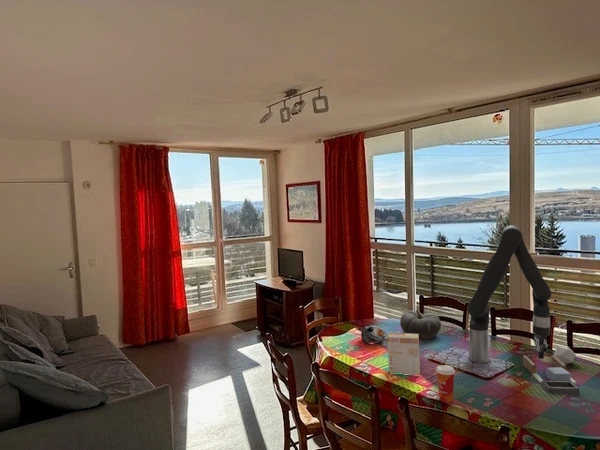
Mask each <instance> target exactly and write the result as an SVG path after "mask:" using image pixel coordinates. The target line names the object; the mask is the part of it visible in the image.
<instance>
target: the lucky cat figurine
mask: <svg viewBox="0 0 600 450" xmlns="http://www.w3.org/2000/svg"><path fill="white" fill-rule="evenodd" d="M363 328H364V329H363V330H362V331H361V332H360V333H361V334H360V336H361V341H362V342H364V343H365V342H366V343H375V344H378V343H380V342H383V341H384V339H386V337H387V336H388V332H386V331H384V330H383V329H382V328H381V327H380V326H378V325H374V324H372V325H369V326H367V325H365V326H364V327H363ZM379 341H380V342H379ZM366 343H365V344H366Z"/></svg>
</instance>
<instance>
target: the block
mask: <svg viewBox="0 0 600 450" xmlns="http://www.w3.org/2000/svg"><path fill="white" fill-rule="evenodd" d="M545 369H546V371H545V372H546V373H545V374H546V375H545V376H546V377H547V378H548V379H549V381H571V378H572V376H571V374H572V373H570V372H569V371H568V370H567V369H566V370H565V369H563V368H562V367H553V366H552V367H546V368H545Z"/></svg>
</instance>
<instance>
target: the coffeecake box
mask: <svg viewBox="0 0 600 450" xmlns="http://www.w3.org/2000/svg"><path fill="white" fill-rule="evenodd" d="M387 357H388V361H387V362H388V373H389V372H390V373H402V374H411V375H419V374H420V372H421V369H420V368H421V365H420V361H421V360H420V338H419V334H408V333H404V332H403V333H402V332H391V331H390V332H388V333H387ZM419 376H420V375H419Z"/></svg>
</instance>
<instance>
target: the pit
mask: <svg viewBox="0 0 600 450" xmlns="http://www.w3.org/2000/svg"><path fill="white" fill-rule="evenodd" d="M541 386H542V387H543V389H544V390H546V392H547V393H548V394H565V395H566V394H568V395H574V394H575V395H578V394H580V388H579V387H578V386H577V384H573V383H572V382H571V381H552V380H543V381H542V383H541Z"/></svg>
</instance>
